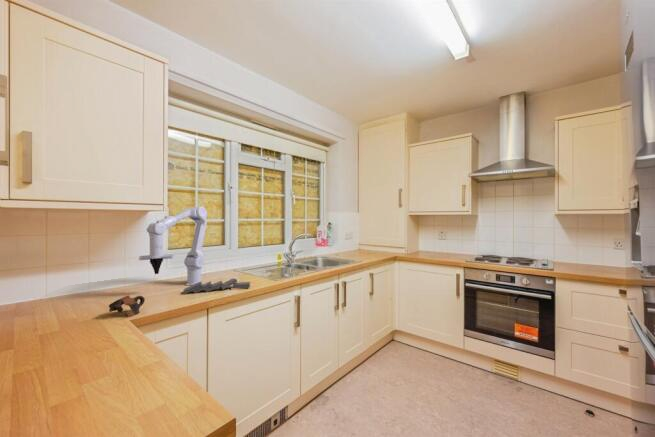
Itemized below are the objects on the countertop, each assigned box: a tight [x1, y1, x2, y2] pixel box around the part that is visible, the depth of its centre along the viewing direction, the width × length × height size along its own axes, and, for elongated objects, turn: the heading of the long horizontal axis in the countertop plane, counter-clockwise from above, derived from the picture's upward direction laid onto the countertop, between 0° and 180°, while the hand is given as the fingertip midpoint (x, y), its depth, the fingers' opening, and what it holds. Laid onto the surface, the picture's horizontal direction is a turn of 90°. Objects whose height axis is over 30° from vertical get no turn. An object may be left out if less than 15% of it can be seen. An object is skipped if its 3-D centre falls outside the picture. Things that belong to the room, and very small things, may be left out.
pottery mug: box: [108, 295, 145, 318], centre depth 112 cm, size 12×10×8 cm
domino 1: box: [183, 281, 203, 295], centre depth 142 cm, size 5×2×8 cm
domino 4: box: [218, 277, 238, 290], centre depth 150 cm, size 5×2×8 cm
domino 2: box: [192, 281, 213, 294], centre depth 144 cm, size 5×2×8 cm
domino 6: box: [229, 285, 249, 291], centre depth 150 cm, size 5×2×8 cm
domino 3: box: [204, 280, 223, 293], centre depth 146 cm, size 5×2×8 cm
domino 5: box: [232, 281, 251, 289], centre depth 150 cm, size 5×2×8 cm
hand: (156, 273), depth 141 cm, fingers closed
